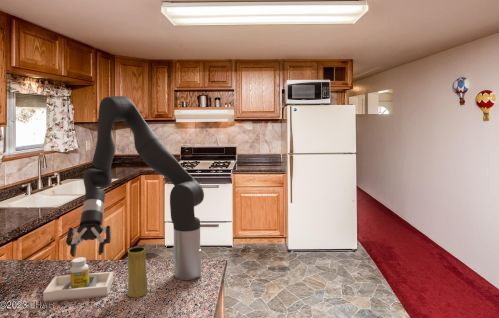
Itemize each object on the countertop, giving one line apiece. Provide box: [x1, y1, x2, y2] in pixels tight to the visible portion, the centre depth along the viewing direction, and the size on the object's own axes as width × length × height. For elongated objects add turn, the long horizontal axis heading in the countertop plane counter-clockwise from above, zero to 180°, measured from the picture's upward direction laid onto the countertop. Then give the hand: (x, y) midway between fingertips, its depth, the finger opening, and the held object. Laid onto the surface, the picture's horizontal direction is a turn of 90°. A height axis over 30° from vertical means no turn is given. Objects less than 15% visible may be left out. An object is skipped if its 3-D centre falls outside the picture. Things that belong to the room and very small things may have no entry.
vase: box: [127, 246, 149, 298], centre depth 108 cm, size 6×6×14 cm
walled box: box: [42, 271, 114, 303], centre depth 110 cm, size 18×11×3 cm, turn 103°
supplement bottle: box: [69, 256, 90, 288], centre depth 110 cm, size 5×5×10 cm
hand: (86, 255), depth 119 cm, fingers open, 8 cm apart
